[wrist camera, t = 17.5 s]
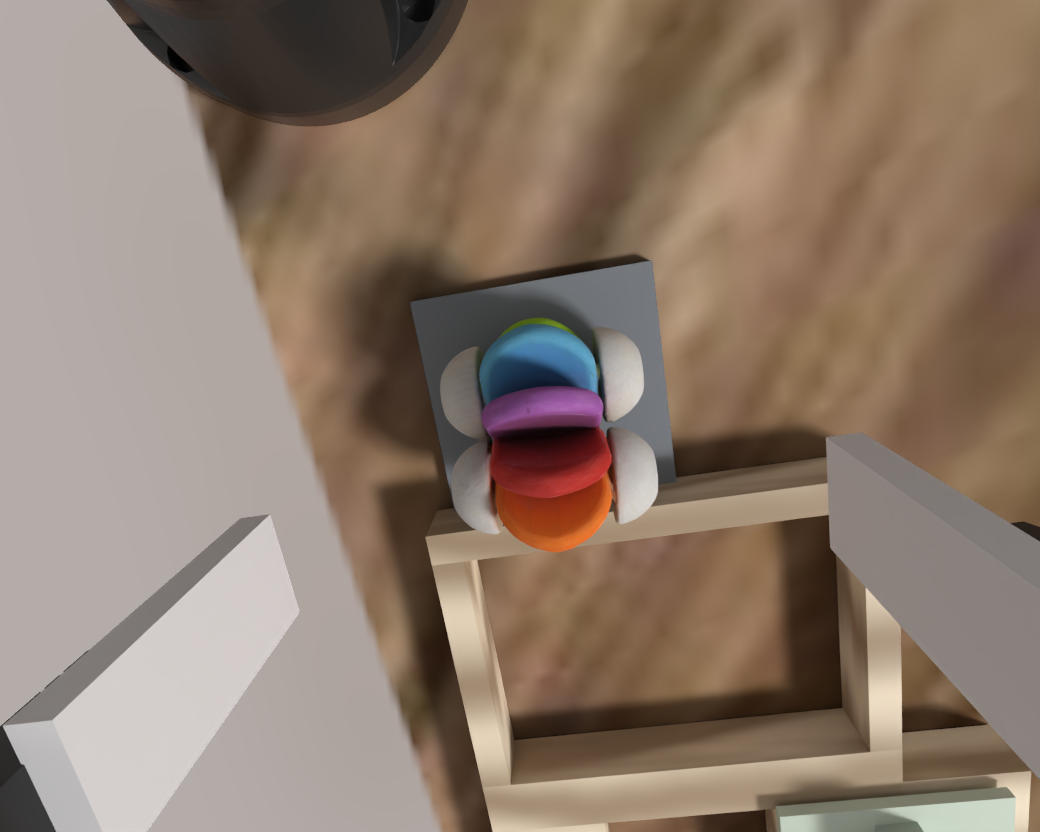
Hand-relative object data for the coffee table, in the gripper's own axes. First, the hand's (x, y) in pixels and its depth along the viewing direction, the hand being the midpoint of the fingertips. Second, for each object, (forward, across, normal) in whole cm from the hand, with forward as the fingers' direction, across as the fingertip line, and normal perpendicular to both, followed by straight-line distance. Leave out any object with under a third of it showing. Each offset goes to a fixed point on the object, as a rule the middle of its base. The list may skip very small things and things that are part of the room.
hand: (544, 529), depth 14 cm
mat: (+15, 0, 0) cm, 15 cm away
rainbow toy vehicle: (+14, 0, -2) cm, 14 cm away
